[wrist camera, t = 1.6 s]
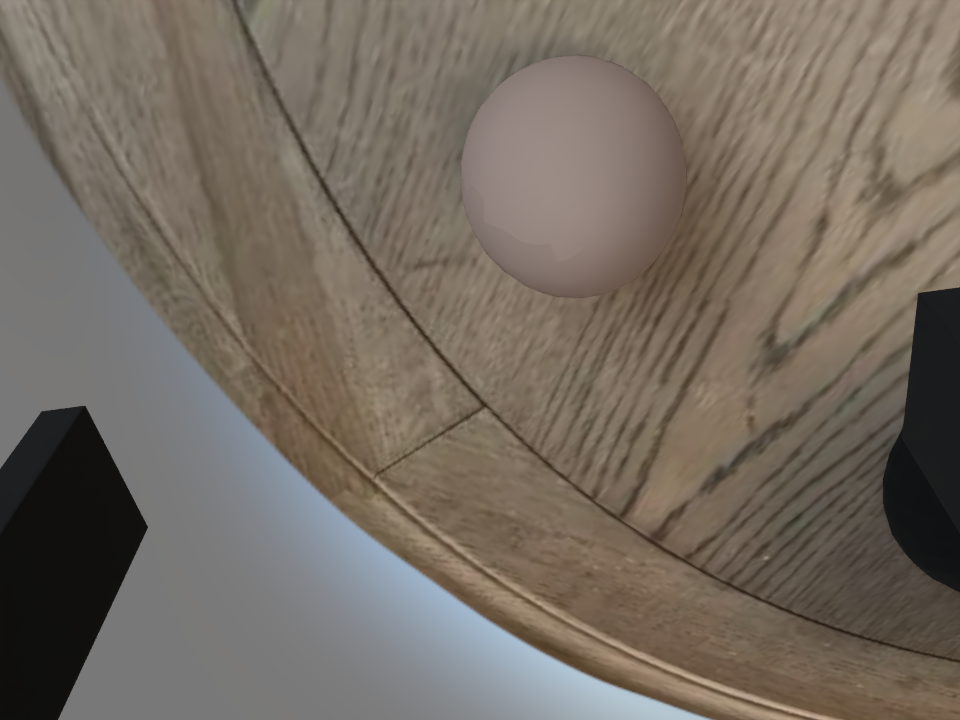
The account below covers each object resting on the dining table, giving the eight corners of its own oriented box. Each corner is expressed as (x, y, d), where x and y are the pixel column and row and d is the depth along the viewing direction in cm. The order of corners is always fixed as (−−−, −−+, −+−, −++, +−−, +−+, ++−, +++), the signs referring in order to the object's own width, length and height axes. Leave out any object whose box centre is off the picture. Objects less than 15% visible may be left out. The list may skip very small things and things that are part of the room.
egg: (624, 235, 32) (664, 378, 25) (446, 195, 31) (430, 329, 24) (690, 54, 29) (760, 155, 21) (491, 3, 28) (489, 88, 20)
